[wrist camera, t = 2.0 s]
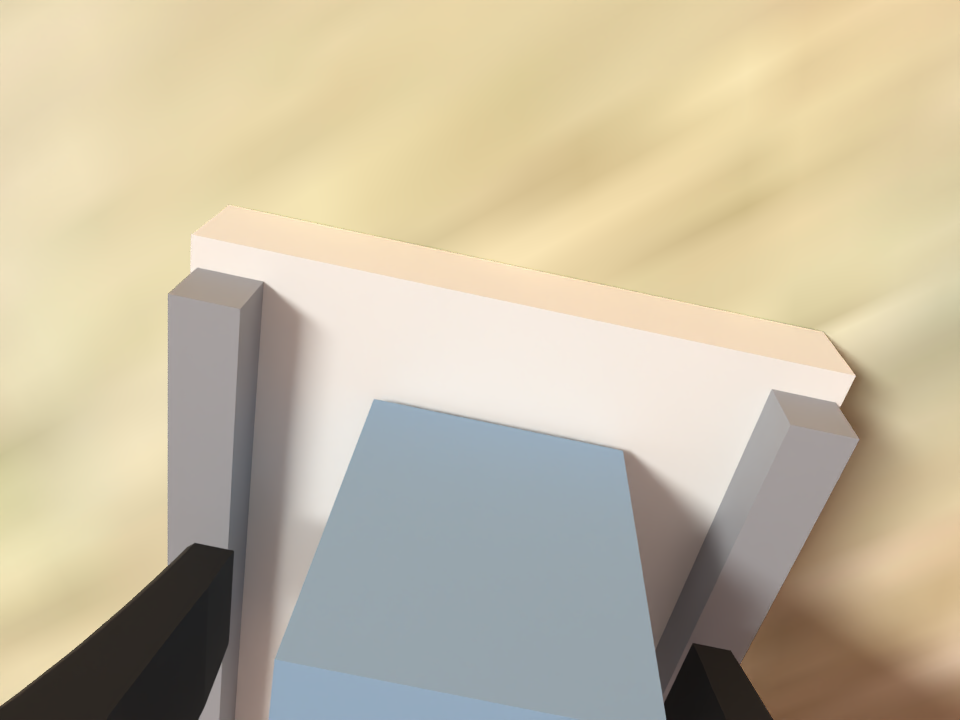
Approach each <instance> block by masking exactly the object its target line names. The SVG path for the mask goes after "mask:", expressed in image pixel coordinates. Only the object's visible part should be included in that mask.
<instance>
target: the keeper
mask: <svg viewBox="0 0 960 720" xmlns="http://www.w3.org/2000/svg"><path fill="white" fill-rule="evenodd" d="M269 720H666V715H665V709H664V702H663V696H662V690H661V684H660V678H659V671H658V665H657V659H656V653H655V647H654V640H653V634H652V628H651V622H650V616H649V609H648V603H647V597H646V591H645V585H644V578H643V572H642V566H641V560H640V554H639V547H638V541H637V535H636V529H635V523H634V516H633V510H632V504H631V498H630V492H629V485H628V479H627V473H626V467H625V461H624V454H623V451H622V450H617V449H612V448H608V447H603V446H598V445H593V444H588V443H584V442H579V441H574V440H569V439H564V438H559V437H555V436H550V435H545V434H540V433H535V432H531V431H526V430H521V429H516V428H511V427H507V426H502V425H497V424H492V423H487V422H483V421H478V420H473V419H468V418H463V417H458V416H454V415H449V414H444V413H439V412H434V411H430V410H425V409H420V408H415V407H410V406H406V405H401V404H396V403H391V402H386V401H382V400H377V399H374V400H373V402H372V405H371V408H370V410H369V413H368V416H367V418H366V421H365V423H364V426H363V429H362V431H361V434H360V436H359V439H358V442H357V444H356V447H355V450H354V452H353V455H352V457H351V460H350V463H349V465H348V468H347V471H346V473H345V476H344V478H343V481H342V484H341V486H340V489H339V492H338V494H337V497H336V499H335V502H334V505H333V507H332V510H331V513H330V515H329V518H328V520H327V523H326V526H325V528H324V531H323V534H322V536H321V539H320V541H319V544H318V547H317V549H316V552H315V554H314V557H313V560H312V562H311V565H310V568H309V570H308V573H307V575H306V578H305V581H304V583H303V586H302V589H301V591H300V594H299V596H298V599H297V602H296V604H295V607H294V610H293V612H292V615H291V617H290V620H289V623H288V625H287V628H286V631H285V633H284V636H283V638H282V641H281V644H280V646H279V649H278V651H277V654H276V657H275V659H274V669H273V679H272V689H271V699H270V710H269Z"/></svg>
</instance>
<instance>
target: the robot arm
mask: <svg viewBox="0 0 960 720" xmlns="http://www.w3.org/2000/svg"><path fill="white" fill-rule="evenodd" d="M233 563H234V551H233V550H228V549H224V548H219V547H214V546H209V545H204V544H199V543H194V544H192V545H190V546H188V547H187V548H186V549H185V550H184V551H183V552H182V553H181V554H180V555H179V556H178V557H177V558H176V559H175V560H173V561H172V562H171V563H170V564H169V565H168V566H167V567H166V568H165V569H164V570H163V571H162V572H161V573H160V574H159V575H158V576H157V577H156V578H155V579H154V580H152V581H151V582H150V583H149V584H148V585H147V586H146V587H145V588H144V589H143V590H142V591H141V592H139V593H138V594H137V595H136V596H135V597H134V598H133V599H132V600H131V601H130V602H128V603H127V604H126V605H125V606H124V607H123V608H122V609H121V610H119V611H118V612H117V613H116V614H115V615H114V616H112V617H111V618H110V619H109V620H108V621H107V622H105V623H104V624H103V625H102V626H101V627H100V628H98V629H97V630H96V631H95V632H94V633H93V634H91V635H90V636H89V637H88V638H87V639H86V640H84V641H83V642H82V643H81V644H80V645H79V646H77V647H76V648H75V649H74V650H72V651H71V652H70V653H69V654H68V655H66V656H65V657H64V658H62V659H61V660H60V661H59V662H57V663H56V664H55V665H53V666H52V667H51V668H50V669H48V670H47V671H46V672H45V673H43V674H42V675H41V676H39V677H38V678H37V679H36V680H34V681H33V682H32V683H30V684H29V685H28V686H27V687H25V688H24V689H23V690H22V691H20V692H19V693H18V694H16V695H15V696H14V697H12V698H11V699H10V700H8V701H7V702H5V703H4V704H3V705H1V706H0V720H199V718H200V715H201V713H202V711H203V709H204V707H205V705H206V702H207V700H208V697H209V694H210V692H211V689H212V687H213V684H214V682H215V679H216V676H217V674H218V671H219V668H220V666H221V663H222V660H223V658H224V655H225V652H226V650H227V647H228V644H229V634H230V616H231V598H232V581H233ZM664 709H665V715H666V720H773V719H772V717H771V715H770V714H769V712H768V710H767V709H766V707H765V705H764V704H763V702H762V701H761V699H760V697H759V696H758V694H757V692H756V691H755V689H754V687H753V686H752V684H751V682H750V681H749V679H748V678H747V676H746V674H745V673H744V671H743V669H742V668H741V666H740V665H739V663H738V661H737V660H736V658H735V656H734V655H733V653H732V652H731V650H726V649H721V648H716V647H711V646H706V645H701V644H696V643H692V645H691V647H690V649H689V652H688V654H687V656H686V658H685V660H684V662H683V664H682V666H681V668H680V670H679V673H678V675H677V677H676V679H675V681H674V683H673V685H672V687H671V689H670V691H669V693H668V696H667V698H666V700H665V702H664Z"/></svg>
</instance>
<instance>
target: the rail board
mask: <svg viewBox="0 0 960 720" xmlns="http://www.w3.org/2000/svg"><path fill="white" fill-rule="evenodd" d="M855 377H856V375H855V374H854V373H853V371H852V370H851V369H850V367H849V366H848V365H847V363H846V362H845V360H844V359H843V358H842V356H841V355H840V354H839V352H838V351H837V350H836V348H835V347H834V346H833V344H832V343H831V342H830V340H829V339H828V338H827V336H826V335H825V334H824V332H821V331H817V330H812V329H807V328H803V327H798V326H793V325H789V324H784V323H779V322H775V321H770V320H765V319H761V318H756V317H751V316H747V315H742V314H737V313H733V312H728V311H723V310H719V309H714V308H709V307H705V306H700V305H695V304H691V303H686V302H681V301H677V300H672V299H667V298H663V297H658V296H653V295H649V294H644V293H639V292H635V291H630V290H625V289H621V288H616V287H611V286H607V285H602V284H597V283H593V282H588V281H583V280H579V279H574V278H569V277H565V276H560V275H555V274H551V273H546V272H541V271H537V270H532V269H527V268H523V267H518V266H513V265H509V264H504V263H499V262H495V261H490V260H485V259H480V258H476V257H471V256H466V255H462V254H457V253H452V252H448V251H443V250H438V249H434V248H429V247H424V246H420V245H415V244H410V243H406V242H401V241H396V240H392V239H387V238H382V237H378V236H373V235H368V234H364V233H359V232H354V231H350V230H345V229H340V228H336V227H331V226H326V225H322V224H317V223H312V222H308V221H303V220H298V219H294V218H289V217H284V216H280V215H275V214H270V213H266V212H261V211H256V210H252V209H247V208H242V207H238V206H233V205H228V206H226V207H225V208H224V209H222V210H221V211H220V212H219V213H217V214H216V215H215V216H214V217H212V218H211V219H210V220H209V221H207V222H206V223H205V224H204V225H202V226H201V227H200V228H199V229H197V230H196V231H195V232H193V233H192V234H191V272H190V274H189V275H188V276H187V277H186V278H185V279H184V280H183V281H182V282H181V283H179V284H178V285H177V286H176V287H175V288H174V289H173V290H172V291H171V292H169V293H168V565H169V564H170V563H171V562H172V561H173V560H175V559H176V558H177V557H178V556H179V555H180V554H181V553H182V552H183V551H184V550H185V549H186V548H187V547H188V546H190V545H192V544H194V543H199V544H204V545H209V546H214V547H219V548H224V549H228V550H233V551H234V563H233V581H232V598H231V616H230V634H229V644H228V647H227V650H226V652H225V655H224V658H223V660H222V663H221V666H220V668H219V671H218V674H217V676H216V679H215V682H214V684H213V687H212V689H211V692H210V694H209V697H208V700H207V702H206V705H205V707H204V709H203V711H202V713H201V715H200V718H199V720H269V710H270V699H271V689H272V679H273V669H274V659H275V657H276V654H277V651H278V649H279V646H280V644H281V641H282V638H283V636H284V633H285V631H286V628H287V625H288V623H289V620H290V617H291V615H292V612H293V610H294V607H295V604H296V602H297V599H298V596H299V594H300V591H301V589H302V586H303V583H304V581H305V578H306V575H307V573H308V570H309V568H310V565H311V562H312V560H313V557H314V554H315V552H316V549H317V547H318V544H319V541H320V539H321V536H322V534H323V531H324V528H325V526H326V523H327V520H328V518H329V515H330V513H331V510H332V507H333V505H334V502H335V499H336V497H337V494H338V492H339V489H340V486H341V484H342V481H343V478H344V476H345V473H346V471H347V468H348V465H349V463H350V460H351V457H352V455H353V452H354V450H355V447H356V444H357V442H358V439H359V436H360V434H361V431H362V429H363V426H364V423H365V421H366V418H367V416H368V413H369V410H370V408H371V405H372V402H373V400H374V399H377V400H382V401H386V402H391V403H396V404H401V405H406V406H410V407H415V408H420V409H425V410H430V411H434V412H439V413H444V414H449V415H454V416H458V417H463V418H468V419H473V420H478V421H483V422H487V423H492V424H497V425H502V426H507V427H511V428H516V429H521V430H526V431H531V432H535V433H540V434H545V435H550V436H555V437H559V438H564V439H569V440H574V441H579V442H584V443H588V444H593V445H598V446H603V447H608V448H612V449H617V450H622V451H623V454H624V461H625V467H626V473H627V479H628V485H629V492H630V498H631V504H632V510H633V516H634V523H635V529H636V535H637V541H638V547H639V554H640V560H641V566H642V572H643V578H644V585H645V591H646V597H647V603H648V609H649V616H650V622H651V628H652V634H653V640H654V647H655V653H656V659H657V665H658V671H659V678H660V684H661V690H662V696H663V702H665V700H666V698H667V696H668V693H669V691H670V689H671V687H672V685H673V683H674V681H675V679H676V677H677V675H678V673H679V670H680V668H681V666H682V664H683V662H684V660H685V658H686V656H687V654H688V652H689V649H690V647H691V645H692V643H696V644H701V645H706V646H711V647H716V648H721V649H726V650H731V652H732V653H733V655H734V656H735V658H736V660H737V661H738V663H739V665H740V664H741V662H742V660H743V658H744V656H745V654H746V652H747V650H748V649H749V647H750V645H751V643H752V641H753V639H754V637H755V635H756V634H757V632H758V630H759V628H760V626H761V624H762V622H763V620H764V618H765V617H766V615H767V613H768V611H769V609H770V607H771V605H772V603H773V601H774V600H775V598H776V596H777V594H778V592H779V590H780V588H781V586H782V585H783V583H784V581H785V579H786V577H787V575H788V573H789V571H790V569H791V568H792V566H793V564H794V562H795V560H796V558H797V556H798V554H799V552H800V551H801V549H802V547H803V545H804V543H805V541H806V539H807V537H808V536H809V534H810V532H811V530H812V528H813V526H814V524H815V522H816V520H817V519H818V517H819V515H820V513H821V511H822V509H823V507H824V505H825V504H826V502H827V500H828V498H829V496H830V494H831V492H832V490H833V488H834V487H835V485H836V483H837V481H838V479H839V477H840V475H841V473H842V471H843V470H844V468H845V466H846V464H847V462H848V460H849V458H850V456H851V455H852V453H853V451H854V449H855V447H856V445H857V443H858V441H859V438H858V436H857V435H856V433H855V432H854V430H853V428H852V427H851V425H850V424H849V422H848V421H847V419H846V418H845V416H844V415H843V413H842V412H841V410H840V409H839V408H840V406H841V404H842V402H843V400H844V398H845V396H846V394H847V393H848V391H849V389H850V387H851V385H852V383H853V381H854V379H855Z"/></svg>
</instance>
